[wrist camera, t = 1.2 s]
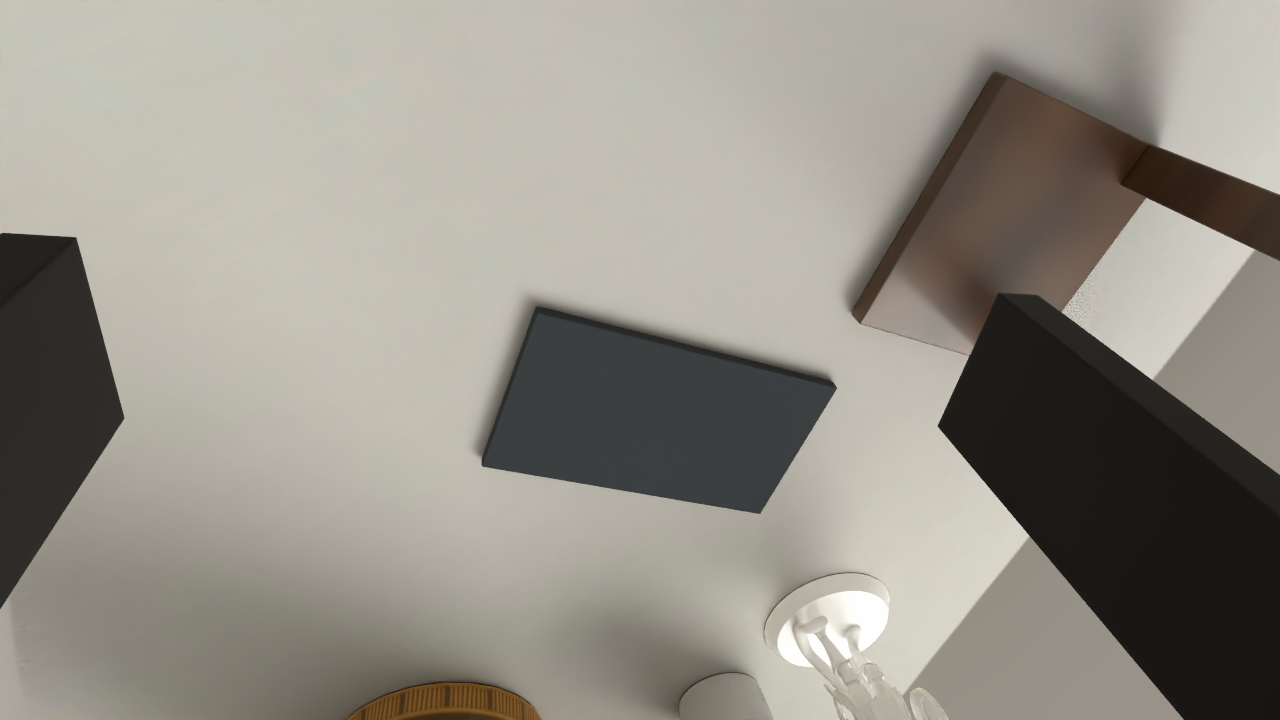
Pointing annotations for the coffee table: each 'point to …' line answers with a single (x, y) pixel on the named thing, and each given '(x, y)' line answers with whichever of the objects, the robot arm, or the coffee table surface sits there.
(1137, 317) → the coffee table surface
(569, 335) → the rubber pad
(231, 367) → the coffee table surface
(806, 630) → the figurine
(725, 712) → the coffee cup
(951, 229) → the walnut rack
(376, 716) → the vase
